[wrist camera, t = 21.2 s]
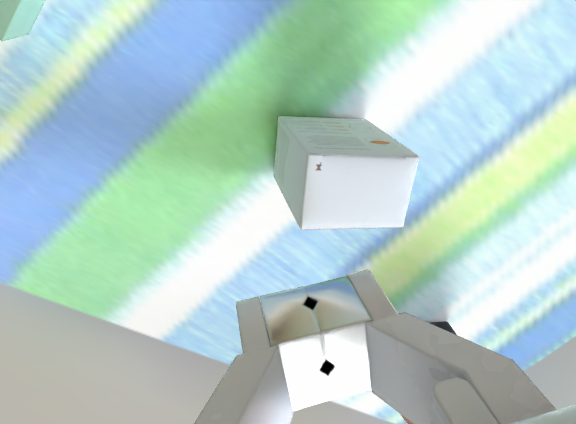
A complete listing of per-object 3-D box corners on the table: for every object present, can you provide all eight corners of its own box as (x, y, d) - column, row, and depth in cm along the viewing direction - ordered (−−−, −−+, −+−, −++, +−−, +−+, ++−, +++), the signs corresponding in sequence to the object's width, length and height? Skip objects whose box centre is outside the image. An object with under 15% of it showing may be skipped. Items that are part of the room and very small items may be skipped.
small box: (272, 176, 40) (297, 231, 31) (277, 113, 38) (305, 153, 28) (357, 177, 42) (405, 230, 32) (367, 117, 39) (422, 156, 30)
